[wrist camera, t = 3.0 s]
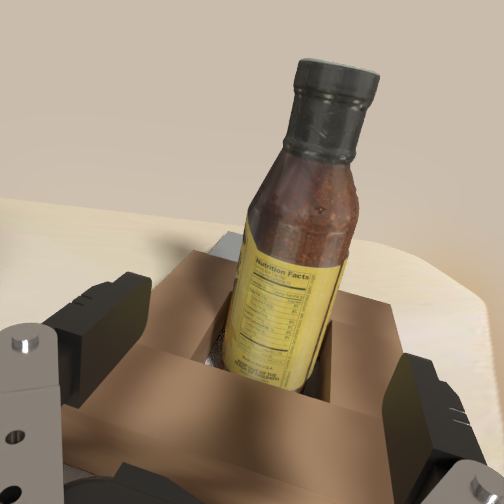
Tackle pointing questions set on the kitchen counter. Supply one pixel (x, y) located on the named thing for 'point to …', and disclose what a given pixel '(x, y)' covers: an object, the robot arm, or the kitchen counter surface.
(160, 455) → the seat block
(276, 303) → the sauce bottle
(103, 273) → the kitchen counter surface
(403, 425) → the robot arm
